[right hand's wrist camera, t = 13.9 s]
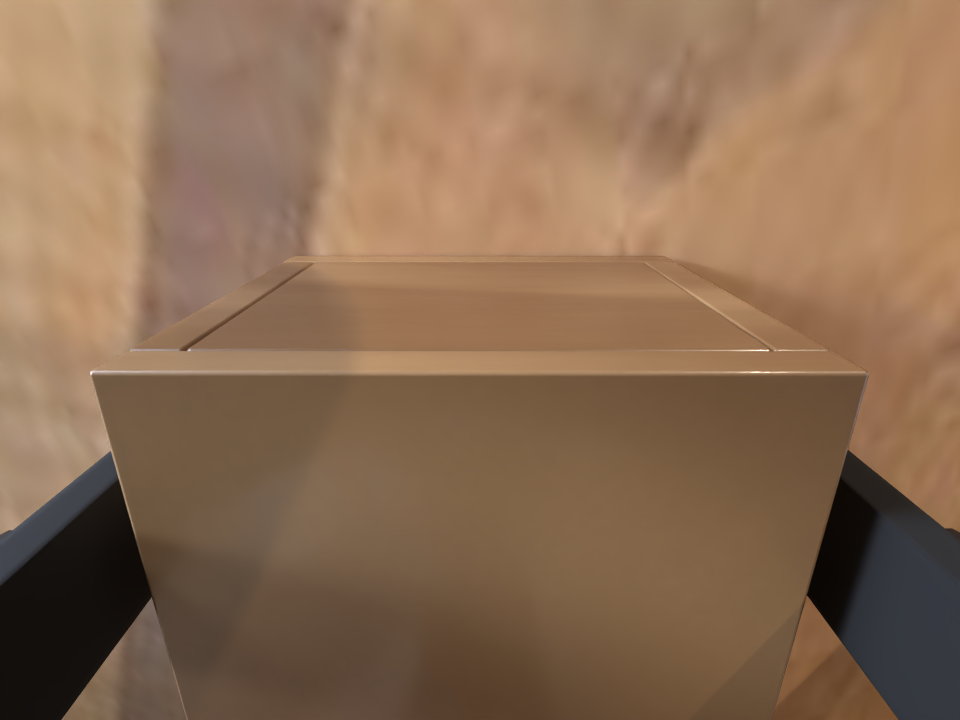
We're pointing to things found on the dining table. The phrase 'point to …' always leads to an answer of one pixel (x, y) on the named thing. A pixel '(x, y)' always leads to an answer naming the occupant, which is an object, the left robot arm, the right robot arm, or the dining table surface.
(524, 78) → the dining table surface
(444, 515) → the cabinet
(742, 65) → the dining table surface
